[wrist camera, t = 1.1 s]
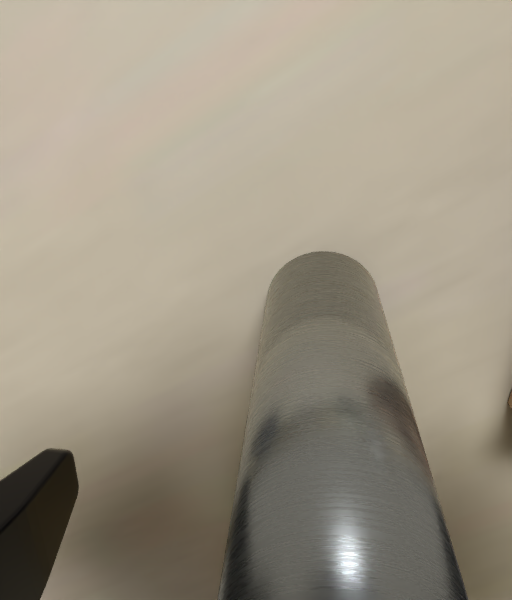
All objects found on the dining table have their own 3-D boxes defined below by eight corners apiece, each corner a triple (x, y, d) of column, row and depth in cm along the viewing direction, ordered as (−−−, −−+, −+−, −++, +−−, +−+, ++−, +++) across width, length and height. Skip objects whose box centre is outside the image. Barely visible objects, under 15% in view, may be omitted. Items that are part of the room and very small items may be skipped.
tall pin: (370, 353, 15) (463, 800, 6) (265, 345, 15) (204, 765, 6) (385, 255, 13) (540, 652, 5) (269, 247, 14) (198, 613, 5)
